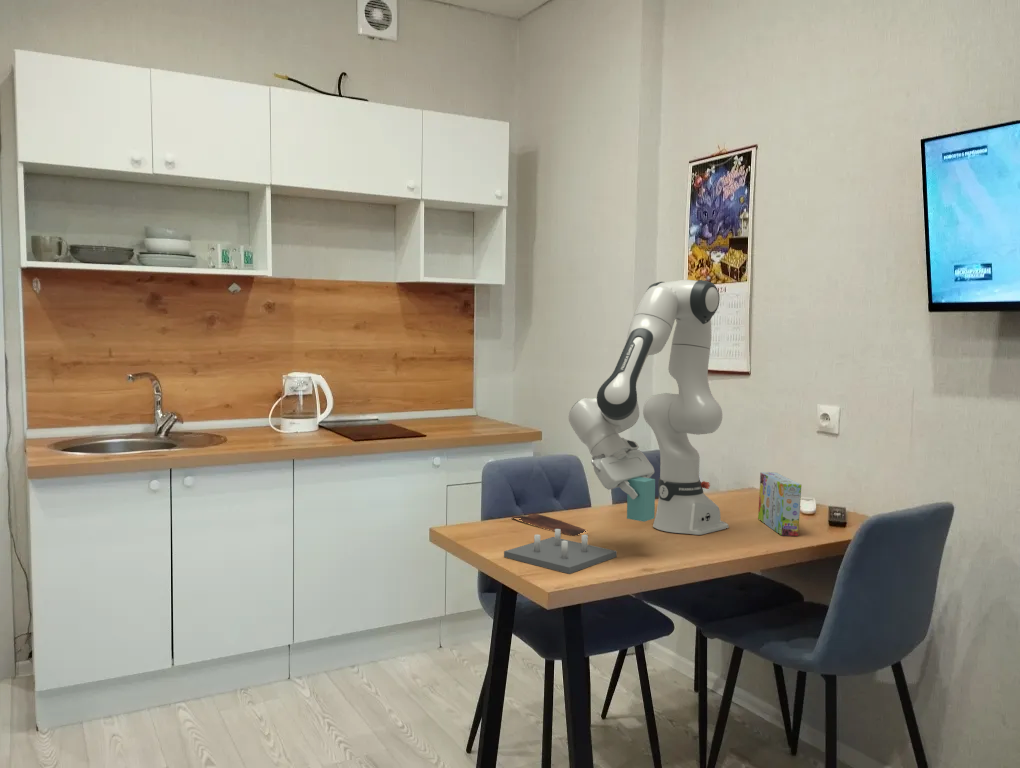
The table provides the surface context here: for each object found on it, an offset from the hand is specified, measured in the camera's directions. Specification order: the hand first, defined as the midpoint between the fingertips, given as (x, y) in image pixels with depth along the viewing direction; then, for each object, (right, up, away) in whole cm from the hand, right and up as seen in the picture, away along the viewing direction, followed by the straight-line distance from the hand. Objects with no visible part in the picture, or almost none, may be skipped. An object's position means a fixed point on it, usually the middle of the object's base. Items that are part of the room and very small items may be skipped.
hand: (643, 495), depth 198 cm
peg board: (-21, -15, -2) cm, 26 cm away
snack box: (+46, -15, +35) cm, 59 cm away
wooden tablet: (-22, -14, +31) cm, 41 cm away
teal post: (-1, -6, +1) cm, 6 cm away
